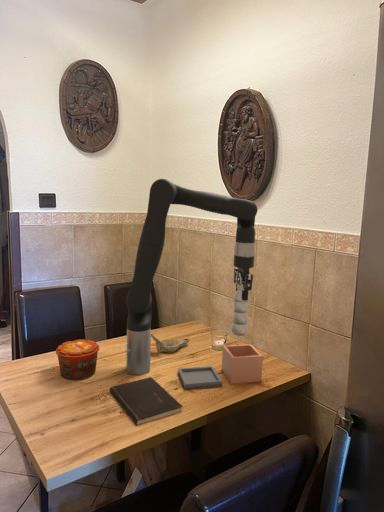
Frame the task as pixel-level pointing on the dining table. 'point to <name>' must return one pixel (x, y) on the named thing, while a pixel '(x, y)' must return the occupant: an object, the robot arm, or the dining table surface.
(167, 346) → the oil lamp
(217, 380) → the tray
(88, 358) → the food container
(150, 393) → the hardcover book
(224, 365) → the pink open box
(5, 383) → the dining table surface
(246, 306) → the plastic bottle
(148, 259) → the robot arm
